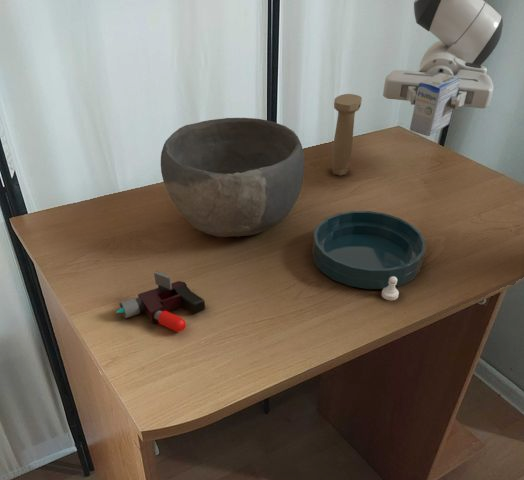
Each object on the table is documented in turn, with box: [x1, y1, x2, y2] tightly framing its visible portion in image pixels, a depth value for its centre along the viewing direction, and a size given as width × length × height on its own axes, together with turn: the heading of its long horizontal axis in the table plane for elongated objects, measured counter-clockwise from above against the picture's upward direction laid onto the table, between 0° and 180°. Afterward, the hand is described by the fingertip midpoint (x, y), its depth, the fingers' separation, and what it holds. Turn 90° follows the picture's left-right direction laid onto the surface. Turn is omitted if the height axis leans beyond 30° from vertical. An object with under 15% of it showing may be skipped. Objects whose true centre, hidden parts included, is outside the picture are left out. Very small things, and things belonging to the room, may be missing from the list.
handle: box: [331, 93, 363, 177], centre depth 109 cm, size 5×6×15 cm
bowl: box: [160, 117, 305, 238], centre depth 94 cm, size 24×24×15 cm
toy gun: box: [115, 271, 206, 333], centre depth 77 cm, size 10×12×5 cm
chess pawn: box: [381, 276, 400, 301], centre depth 82 cm, size 3×3×4 cm
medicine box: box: [409, 73, 461, 137], centre depth 100 cm, size 8×4×9 cm, turn 139°
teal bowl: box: [311, 210, 427, 290], centre depth 89 cm, size 18×18×4 cm
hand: (435, 102), depth 99 cm, fingers closed on medicine box, 6 cm apart
